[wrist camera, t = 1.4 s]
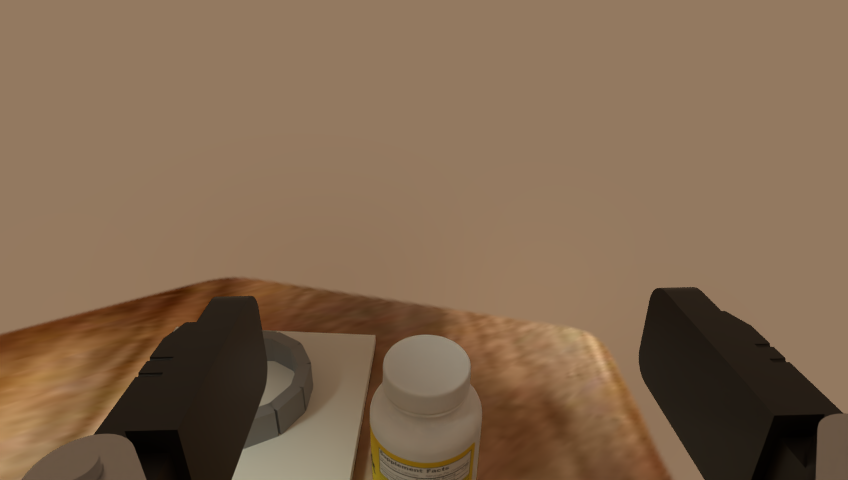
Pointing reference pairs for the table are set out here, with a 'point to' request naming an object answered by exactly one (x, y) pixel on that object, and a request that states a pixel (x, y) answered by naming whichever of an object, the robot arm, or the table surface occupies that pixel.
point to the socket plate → (309, 407)
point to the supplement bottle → (425, 413)
